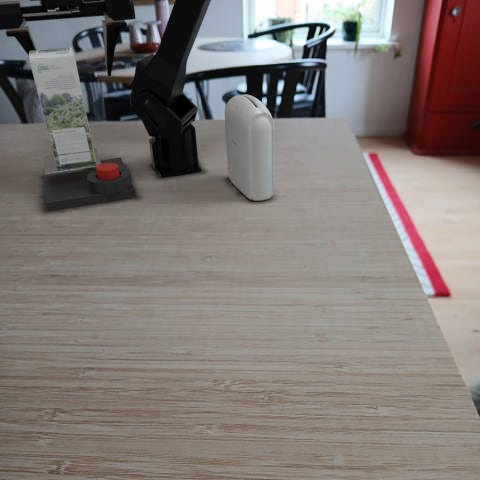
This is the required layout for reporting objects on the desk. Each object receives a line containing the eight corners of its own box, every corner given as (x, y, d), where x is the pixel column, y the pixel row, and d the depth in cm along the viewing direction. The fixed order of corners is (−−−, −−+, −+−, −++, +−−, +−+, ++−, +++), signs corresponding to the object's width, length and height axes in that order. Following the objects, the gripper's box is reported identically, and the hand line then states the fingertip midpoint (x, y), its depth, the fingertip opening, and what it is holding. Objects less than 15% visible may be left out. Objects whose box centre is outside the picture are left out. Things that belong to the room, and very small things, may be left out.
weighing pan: (97, 151, 80) (96, 148, 80) (102, 168, 74) (102, 165, 74) (43, 158, 78) (43, 155, 78) (45, 176, 72) (44, 173, 72)
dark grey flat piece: (122, 165, 83) (119, 147, 81) (136, 199, 72) (133, 178, 70) (45, 176, 80) (40, 157, 78) (48, 213, 69) (42, 192, 67)
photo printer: (224, 178, 77) (219, 90, 70) (251, 173, 78) (249, 86, 71) (249, 204, 69) (246, 108, 62) (278, 198, 70) (279, 104, 63)
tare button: (118, 172, 73) (116, 161, 72) (121, 179, 71) (119, 168, 70) (97, 175, 73) (95, 164, 72) (99, 182, 70) (97, 171, 69)
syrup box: (93, 150, 79) (72, 45, 70) (96, 163, 74) (73, 52, 66) (55, 155, 78) (28, 48, 69) (56, 168, 73) (27, 56, 64)
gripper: (115, -55, 75) (132, 63, 84) (-22, -49, 70) (12, 75, 80) (126, -55, 66) (144, 76, 76) (-28, -48, 62) (10, 90, 71)
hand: (77, 79), depth 76 cm, fingers open, 9 cm apart
